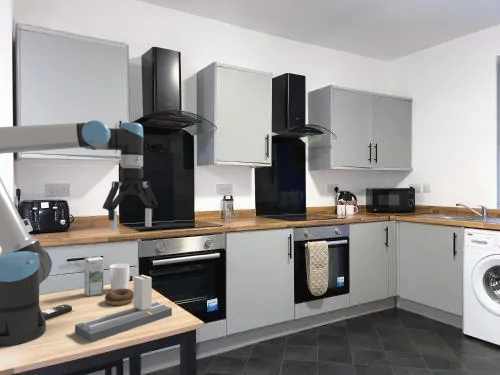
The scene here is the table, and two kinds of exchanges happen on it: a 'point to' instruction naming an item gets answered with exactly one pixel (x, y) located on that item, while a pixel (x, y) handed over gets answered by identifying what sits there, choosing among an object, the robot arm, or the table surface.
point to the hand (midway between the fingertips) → (131, 228)
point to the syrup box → (94, 275)
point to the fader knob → (142, 292)
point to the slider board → (121, 322)
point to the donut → (119, 297)
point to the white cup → (119, 276)
